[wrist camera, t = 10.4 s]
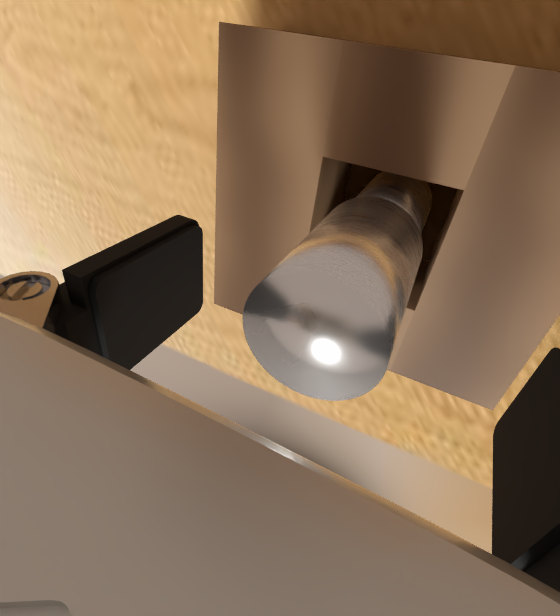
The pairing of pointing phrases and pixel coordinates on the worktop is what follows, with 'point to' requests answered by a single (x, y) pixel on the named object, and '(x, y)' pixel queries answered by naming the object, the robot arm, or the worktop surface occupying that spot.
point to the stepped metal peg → (342, 293)
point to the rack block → (407, 162)
